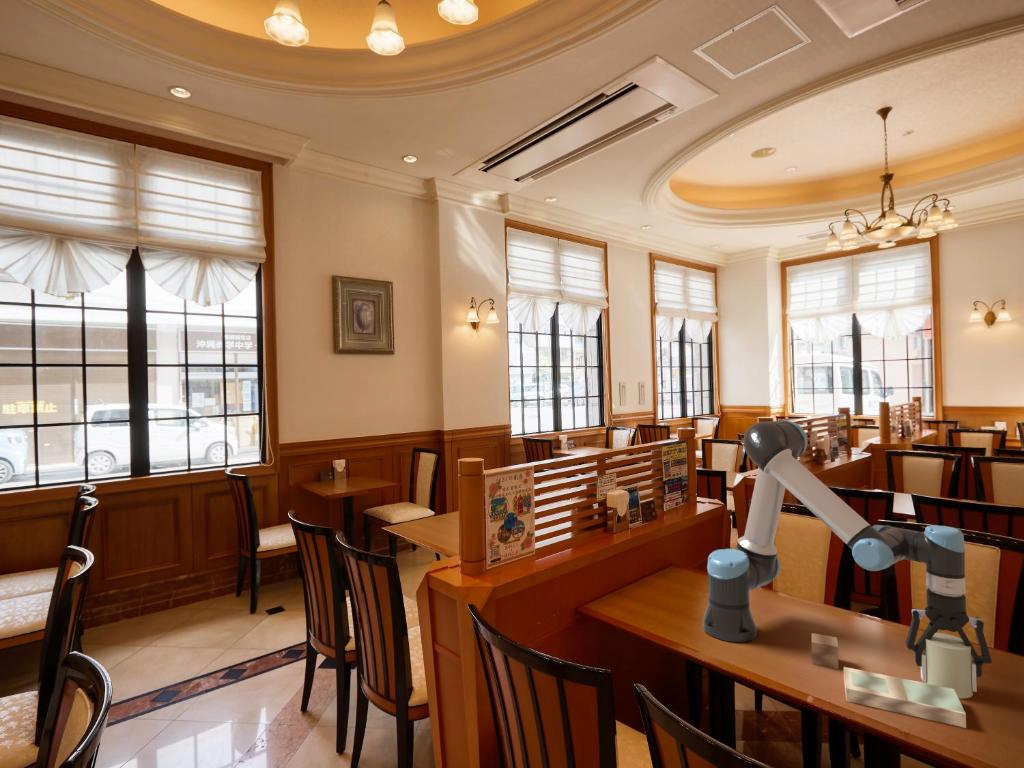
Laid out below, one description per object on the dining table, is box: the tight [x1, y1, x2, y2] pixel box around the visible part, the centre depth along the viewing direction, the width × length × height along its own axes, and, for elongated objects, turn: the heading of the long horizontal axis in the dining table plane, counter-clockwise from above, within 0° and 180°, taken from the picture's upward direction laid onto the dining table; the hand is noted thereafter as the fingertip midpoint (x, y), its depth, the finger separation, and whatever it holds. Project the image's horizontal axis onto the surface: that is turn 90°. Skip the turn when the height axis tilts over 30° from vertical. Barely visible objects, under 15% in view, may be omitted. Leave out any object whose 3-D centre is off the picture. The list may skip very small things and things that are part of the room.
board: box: [843, 666, 967, 729], centre depth 127 cm, size 22×11×3 cm, turn 61°
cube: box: [811, 632, 839, 671], centre depth 146 cm, size 6×6×6 cm
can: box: [924, 632, 974, 700], centre depth 132 cm, size 9×9×12 cm
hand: (947, 684), depth 132 cm, fingers closed on can, 9 cm apart
